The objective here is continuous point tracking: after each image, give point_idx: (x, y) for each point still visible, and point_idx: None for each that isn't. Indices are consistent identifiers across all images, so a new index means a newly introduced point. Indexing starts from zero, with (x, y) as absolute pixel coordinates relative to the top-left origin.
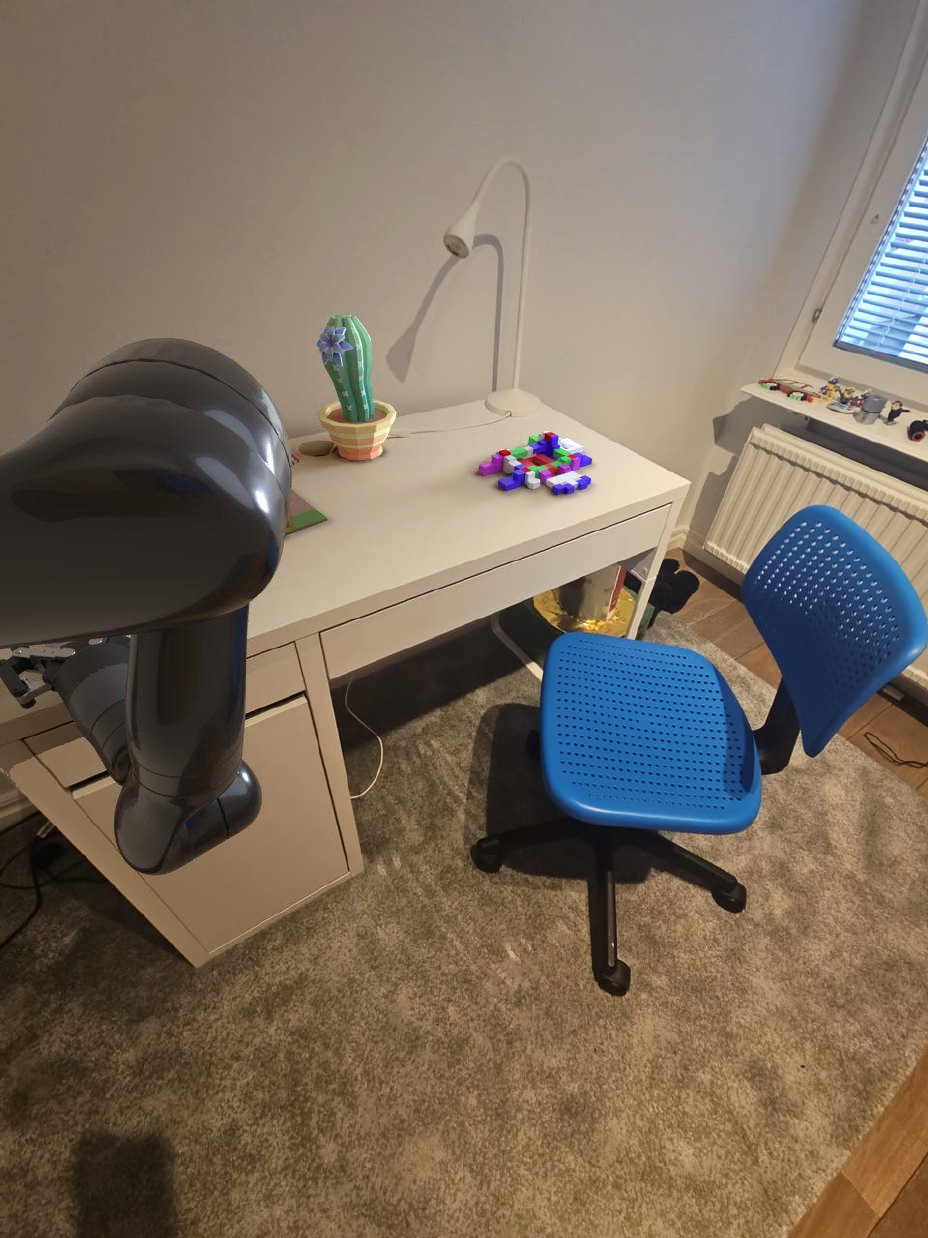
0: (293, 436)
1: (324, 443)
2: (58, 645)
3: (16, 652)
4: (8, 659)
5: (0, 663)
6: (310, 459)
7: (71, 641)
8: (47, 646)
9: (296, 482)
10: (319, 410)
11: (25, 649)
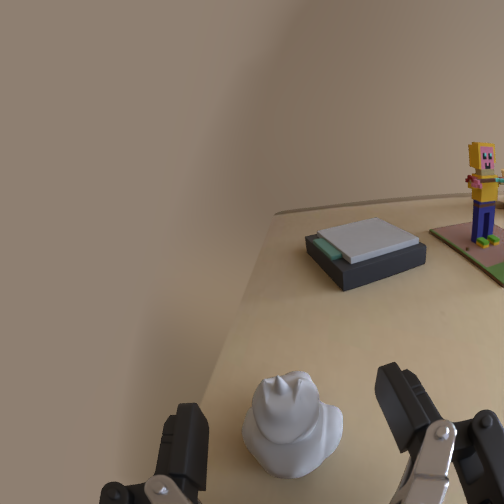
0: (471, 195)
1: (496, 201)
2: (263, 446)
3: (152, 489)
4: (139, 486)
5: (111, 499)
6: (496, 210)
7: (290, 448)
8: (245, 432)
9: (500, 225)
10: (501, 170)
11: (174, 491)
